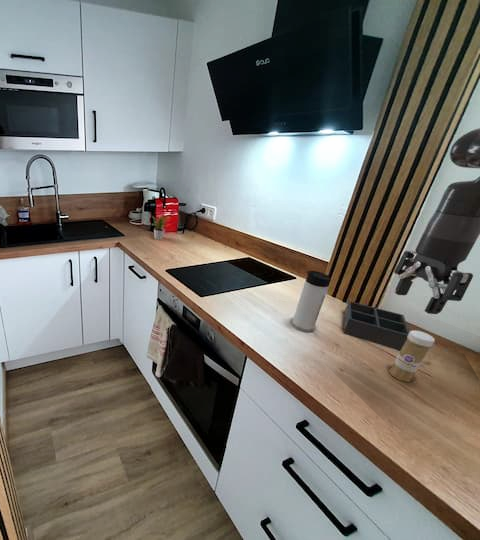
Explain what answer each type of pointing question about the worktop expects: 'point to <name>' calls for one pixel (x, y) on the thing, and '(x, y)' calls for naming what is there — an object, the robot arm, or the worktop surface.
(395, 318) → the box
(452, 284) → the robot arm
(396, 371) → the sprinkles bottle
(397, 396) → the worktop surface
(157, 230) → the house plant
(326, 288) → the travel mug
